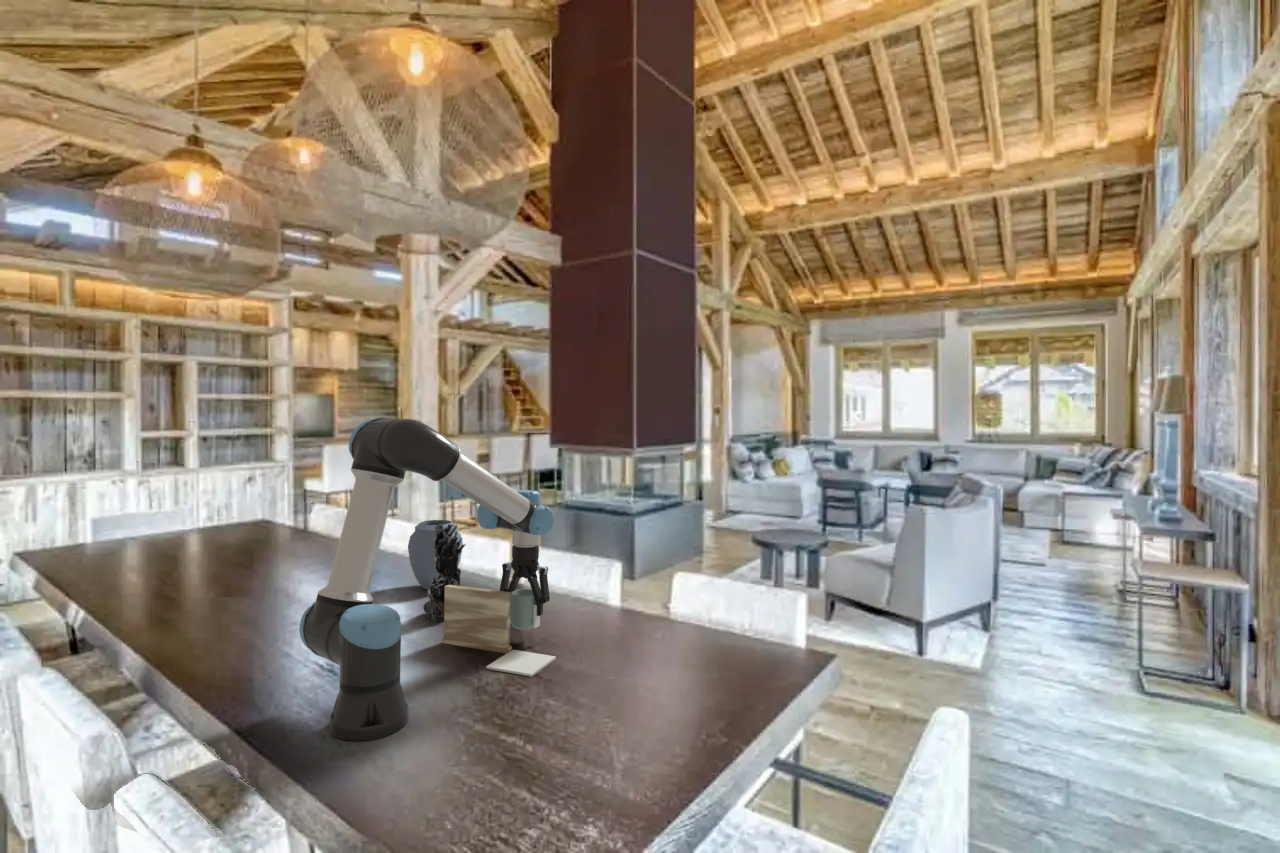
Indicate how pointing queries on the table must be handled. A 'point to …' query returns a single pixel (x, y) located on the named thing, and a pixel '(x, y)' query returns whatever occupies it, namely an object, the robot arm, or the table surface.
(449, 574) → the sculpture
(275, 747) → the table surface
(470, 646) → the wooden board
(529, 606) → the cup
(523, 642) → the table surface
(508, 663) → the pad
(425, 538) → the vase
